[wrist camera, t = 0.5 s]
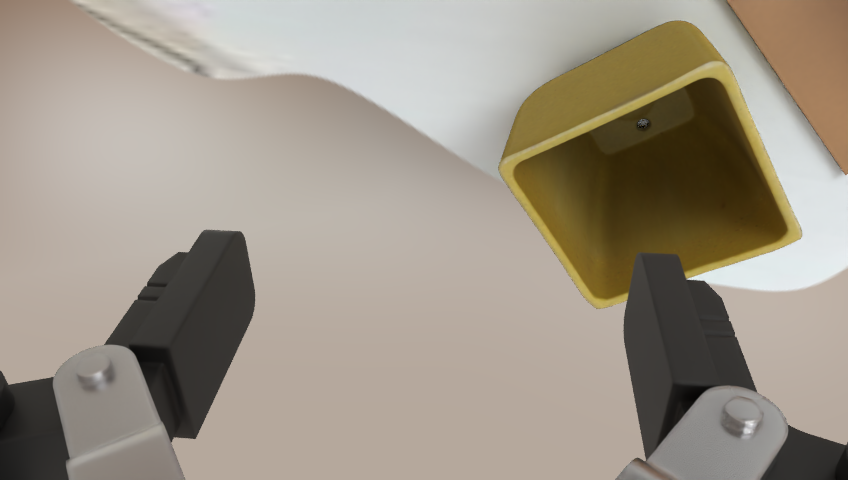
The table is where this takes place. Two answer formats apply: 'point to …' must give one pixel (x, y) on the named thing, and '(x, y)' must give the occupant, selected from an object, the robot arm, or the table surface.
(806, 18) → the cork mat
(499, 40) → the table surface
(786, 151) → the table surface
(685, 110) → the flower pot
